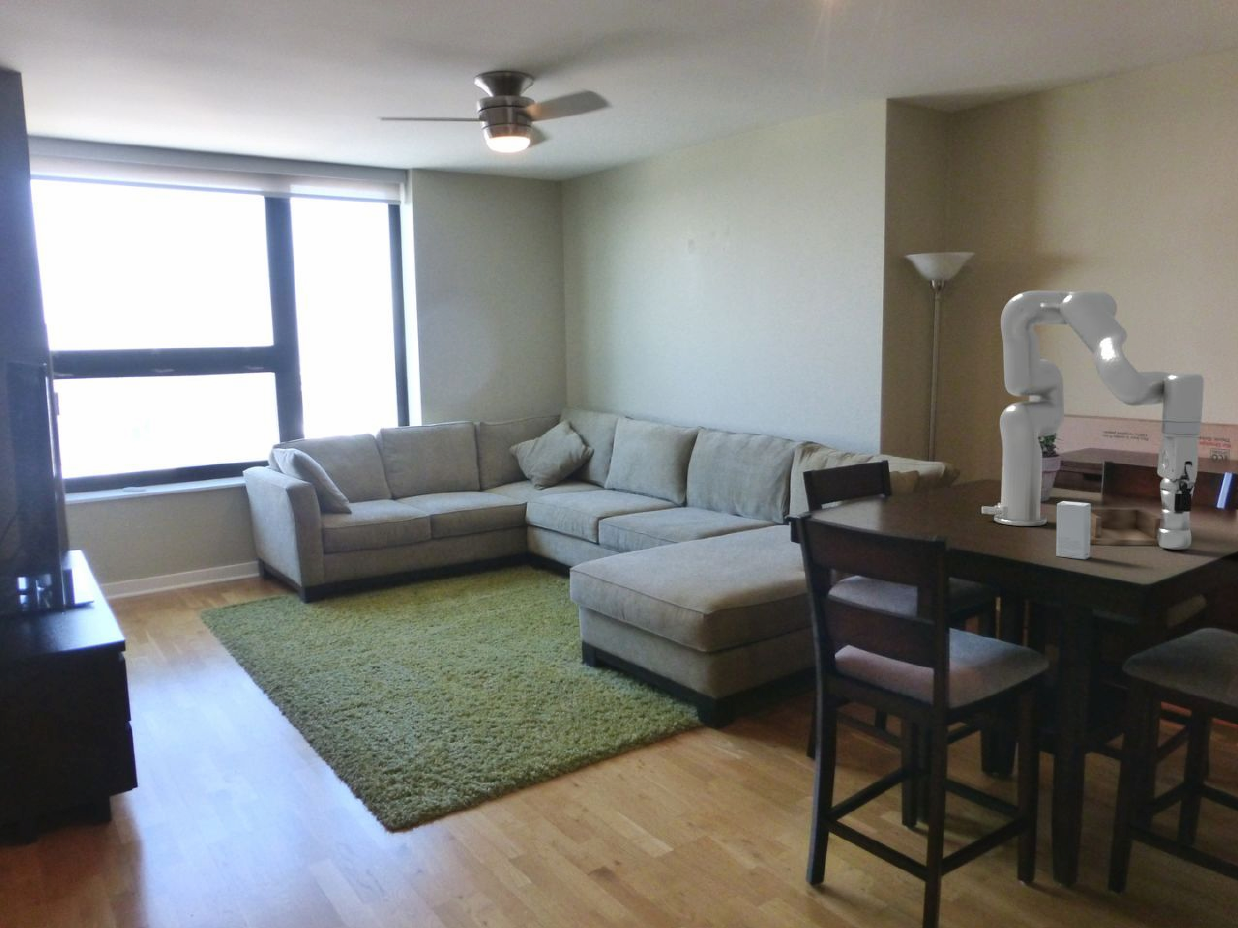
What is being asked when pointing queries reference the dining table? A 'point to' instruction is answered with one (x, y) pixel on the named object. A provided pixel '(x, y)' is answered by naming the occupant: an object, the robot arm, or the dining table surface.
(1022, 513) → the robot arm
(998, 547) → the dining table surface
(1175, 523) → the silver bottle
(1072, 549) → the skincare box
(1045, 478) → the potted plant
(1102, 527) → the brown tray
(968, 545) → the dining table surface
